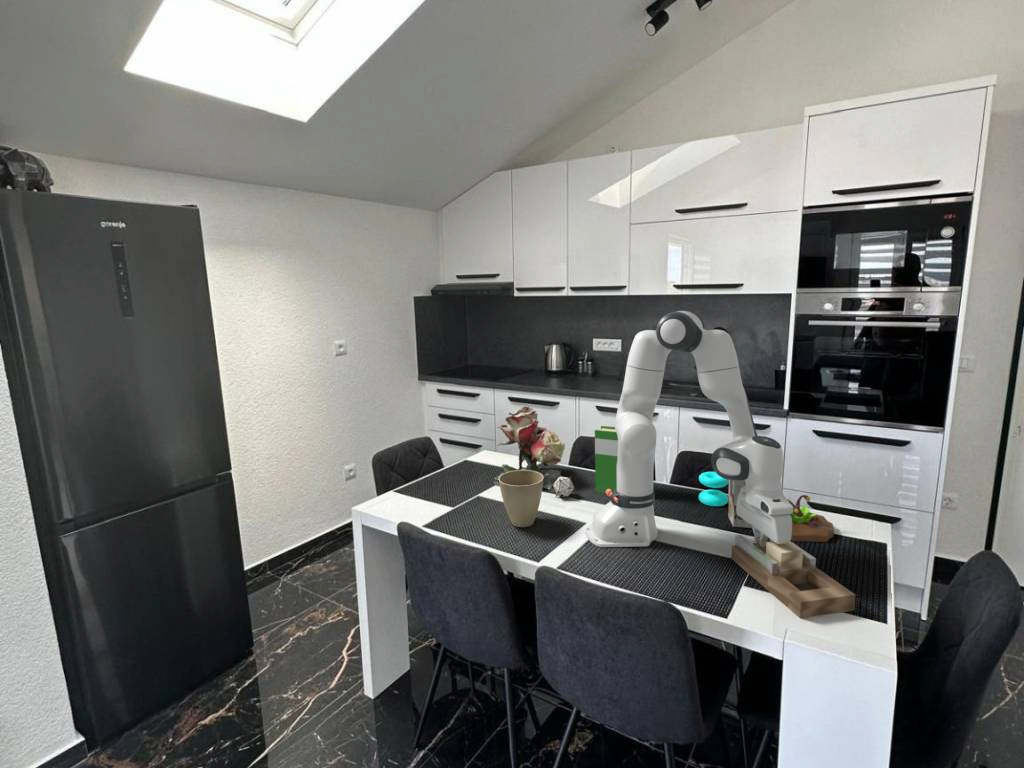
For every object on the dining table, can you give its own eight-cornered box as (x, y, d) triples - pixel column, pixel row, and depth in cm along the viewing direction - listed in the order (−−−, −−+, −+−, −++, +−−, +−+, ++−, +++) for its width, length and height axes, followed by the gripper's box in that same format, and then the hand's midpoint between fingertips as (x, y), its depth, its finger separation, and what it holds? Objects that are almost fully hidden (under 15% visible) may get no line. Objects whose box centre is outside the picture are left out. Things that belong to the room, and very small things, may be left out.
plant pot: (493, 519, 183) (490, 475, 181) (531, 510, 190) (529, 467, 187) (513, 536, 170) (511, 488, 168) (553, 525, 177) (552, 479, 174)
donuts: (727, 471, 193) (730, 481, 183) (727, 497, 195) (729, 508, 185) (698, 469, 196) (699, 479, 186) (697, 495, 197) (699, 506, 188)
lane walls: (771, 575, 135) (772, 563, 134) (735, 545, 151) (735, 535, 150) (815, 569, 136) (816, 558, 136) (774, 540, 153) (774, 530, 152)
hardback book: (595, 491, 206) (594, 430, 202) (602, 485, 212) (601, 425, 208) (641, 498, 197) (641, 434, 193) (646, 491, 203) (647, 430, 199)
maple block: (780, 571, 136) (781, 553, 135) (765, 560, 142) (766, 542, 141) (801, 568, 137) (802, 550, 136) (786, 557, 143) (787, 539, 142)
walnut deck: (799, 618, 124) (800, 602, 123) (731, 558, 151) (731, 545, 151) (854, 610, 126) (855, 594, 125) (776, 553, 153) (777, 540, 153)
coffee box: (754, 528, 170) (756, 479, 167) (732, 527, 171) (734, 478, 168) (747, 516, 178) (749, 469, 176) (727, 515, 180) (728, 469, 177)
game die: (568, 505, 203) (584, 484, 201) (558, 505, 196) (575, 483, 194) (552, 489, 208) (568, 469, 206) (542, 488, 200) (558, 467, 199)
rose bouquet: (561, 491, 207) (559, 415, 202) (489, 487, 215) (486, 413, 209) (572, 470, 231) (571, 401, 226) (507, 466, 239) (504, 400, 234)
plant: (839, 547, 156) (842, 510, 154) (765, 538, 163) (767, 503, 161) (827, 519, 175) (829, 486, 173) (760, 512, 182) (762, 481, 180)
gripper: (731, 483, 155) (729, 528, 158) (775, 512, 136) (772, 563, 138) (751, 482, 156) (749, 527, 159) (798, 510, 136) (794, 560, 139)
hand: (760, 544), depth 148 cm, fingers closed
